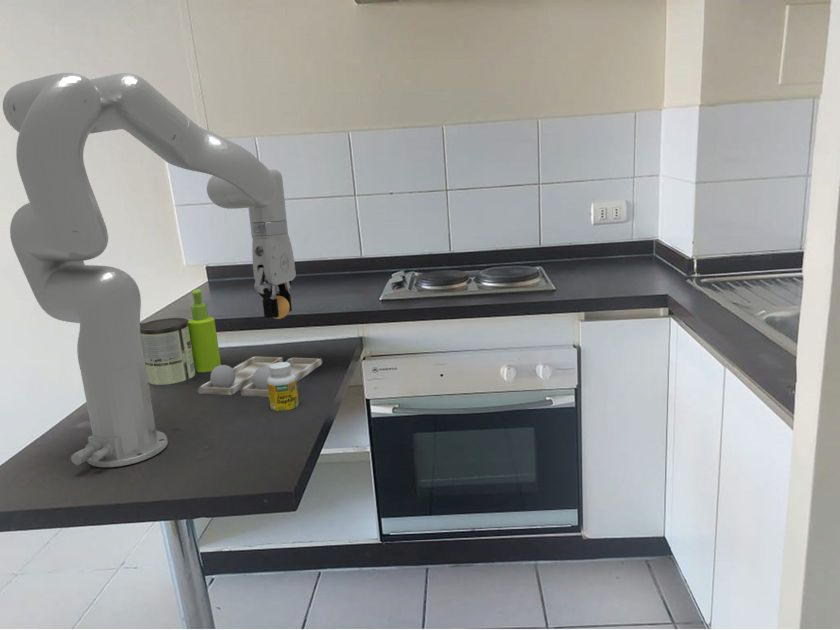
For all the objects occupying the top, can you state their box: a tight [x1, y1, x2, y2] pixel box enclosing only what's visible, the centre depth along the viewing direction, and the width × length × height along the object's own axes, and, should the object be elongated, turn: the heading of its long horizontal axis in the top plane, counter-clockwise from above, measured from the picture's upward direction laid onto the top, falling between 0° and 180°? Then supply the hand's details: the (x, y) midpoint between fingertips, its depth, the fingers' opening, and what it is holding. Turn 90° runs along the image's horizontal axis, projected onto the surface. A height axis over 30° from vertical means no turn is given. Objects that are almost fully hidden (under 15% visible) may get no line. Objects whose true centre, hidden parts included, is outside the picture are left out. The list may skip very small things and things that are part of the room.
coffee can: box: [140, 317, 196, 385], centre depth 138 cm, size 10×10×14 cm
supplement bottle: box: [267, 361, 300, 412], centre depth 117 cm, size 5×5×10 cm
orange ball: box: [274, 295, 290, 320], centre depth 134 cm, size 5×5×5 cm
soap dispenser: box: [188, 288, 222, 373], centre depth 143 cm, size 6×7×20 cm
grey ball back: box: [210, 364, 235, 388], centre depth 129 cm, size 5×5×5 cm
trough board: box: [197, 356, 323, 398], centre depth 135 cm, size 24×19×3 cm
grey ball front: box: [253, 366, 271, 390], centre depth 126 cm, size 5×5×5 cm
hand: (278, 313), depth 134 cm, fingers closed on orange ball, 4 cm apart
